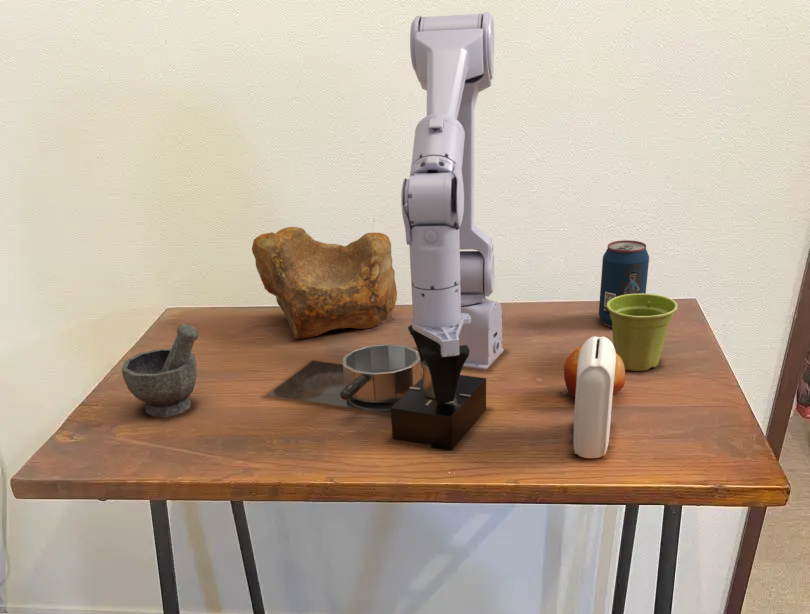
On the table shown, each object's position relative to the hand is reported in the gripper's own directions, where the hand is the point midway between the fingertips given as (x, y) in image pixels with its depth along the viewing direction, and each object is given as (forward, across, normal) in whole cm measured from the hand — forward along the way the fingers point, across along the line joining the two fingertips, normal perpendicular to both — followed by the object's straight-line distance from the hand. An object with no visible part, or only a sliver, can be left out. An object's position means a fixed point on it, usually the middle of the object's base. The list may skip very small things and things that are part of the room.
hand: (439, 390), depth 109 cm
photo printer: (+5, -9, -17) cm, 20 cm away
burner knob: (0, 0, 0) cm, 0 cm away
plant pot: (+5, +11, -31) cm, 33 cm away
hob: (+5, +15, +9) cm, 18 cm away
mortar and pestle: (+5, +16, +34) cm, 38 cm away
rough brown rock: (+5, +40, +11) cm, 42 cm away
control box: (+5, 0, 0) cm, 5 cm away
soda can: (+5, +28, -35) cm, 45 cm away
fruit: (+5, +2, -21) cm, 22 cm away
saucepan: (+5, +10, +7) cm, 13 cm away
